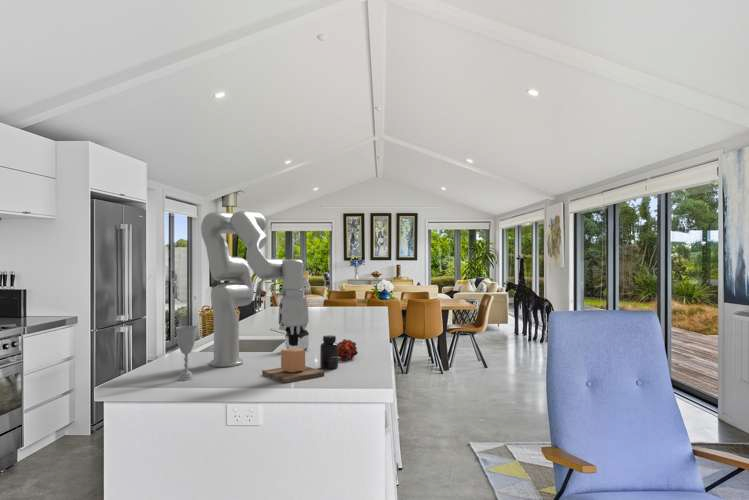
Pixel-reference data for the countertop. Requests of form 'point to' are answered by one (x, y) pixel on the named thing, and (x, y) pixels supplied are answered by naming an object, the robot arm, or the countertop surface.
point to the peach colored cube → (293, 359)
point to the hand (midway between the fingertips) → (293, 345)
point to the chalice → (186, 347)
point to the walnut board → (292, 374)
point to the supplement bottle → (329, 353)
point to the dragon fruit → (346, 349)
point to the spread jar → (300, 340)
